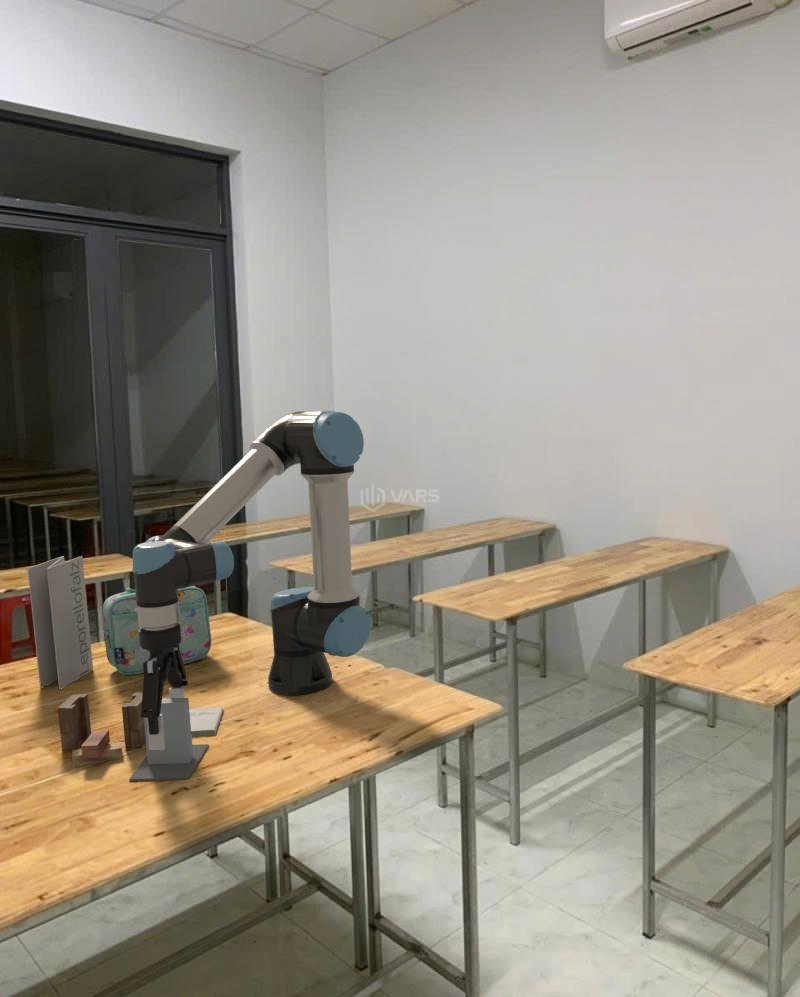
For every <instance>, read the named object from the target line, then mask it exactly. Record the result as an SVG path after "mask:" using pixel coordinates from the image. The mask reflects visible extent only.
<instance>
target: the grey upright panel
mask: <svg viewBox="0 0 800 997" xmlns="http://www.w3.org/2000/svg"><path fill="white" fill-rule="evenodd" d="M189 702H190V701H189V697H184V698H162V704H161V711H160V714H162V715H163V727H164V739H165V749H164V750H149V741H148V729H147V718H144V725H145V736H146V743H145V745H146V746H145V747H146V756H147V759H148V764H175V763H190V762H191V760H192V758H193V750H192V745H193V738H192V737H193V736H191V724H190V712H189V709H190V703H189Z"/></svg>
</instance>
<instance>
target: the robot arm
mask: <svg viewBox="0 0 800 997" xmlns="http://www.w3.org/2000/svg"><path fill="white" fill-rule="evenodd" d="M364 444H365V441H364V435H363V431H362V430H361V427H360V425H359V423H358V422H357V421H356V420H355V419H354V418H353V417H352V416H351V415H350V414H347V413H345V412H341V411H334V410H323V411H304V410H303V411H294V412H292V413H291V412H290V413H288V414H286V415H284V416H283V417H280V418H279V419H278V420H276V421H275V422H273V423H272V424H271V425H270V426H269V427H267V429H265V430H264V431H263V432H262V433H261V434H259V435H258V436H257V438H256V439H254V440H253V442H251V443H250V445H249V451H248V452H247V453H246V455H244V456H243V457H242V459H240V461H238V462H237V463H236V464H235V465H234V466H232V468H231V469H230V471H228V472H227V473H226V474H225V475H224V476H223V477H221V479H220V480H219V481H218V482H217V483H215V485H214V486H213V487H212V488H211V489H210V490H209V491H208V492H207V493H206V494H205V495H203V497H201V499H199V500H198V501H197V503H195V504H194V505H193V506H192V507H191V508H189V510H188V511H187V512H186V513H185V514H184V515H182V517H181V518H180V519H179V520H178V521H177V522H176V523H175V524H174V525H173V526H171V527H170V529H169V530H168V531H166V532H165V533H164V534H163V535H155V536H152V537H150V538H148V539H147V540H146V541H145V542H142V543H138V544H137V545H135V547H133V550H132V573H133V581H134V590H135V592H136V603H137V608H135V613H137V614H138V625H139V626H141V627H140V629H139V641H140V647H141V648H143V649H145V650H148V651H149V652H150V657H149V660H148V661H144V663H143V671H144V673H143V680H142V683H143V684H142V692H141V693H142V708H141V717H142V718H147V729H148V741H149V750H164V749H165V739H164V727H163V715H162V714H160V711H161V704H162V699H163V696H164V687H165V682H166V681H167V682H168V684H169V686H170V687H169V688H168V697H169V698H185V690H184V687H188V685H189V681H188V679H187V674H186V669H185V664H183V661H182V657H181V653H180V649H179V644H180V643H181V628H180V624H179V623H178V622H179V621H180V613H179V601H178V589H182V588H186V587H191V586H195V587H196V586H199V585H203V584H209V583H213V582H214V583H216V582H218V581H222V580H224V579H227V578H229V577H230V576H231V575H232V574H233V571H234V568H235V561H234V560H235V559H234V553H233V551H232V549H231V547H230V545H228V543H226V542H223V541H214V542H213V541H211V540H212V539H213V538H214V537H215V535H217V534H218V533H219V532H220V531H221V530H222V529H223V527H225V526H226V524H228V523H229V521H231V519H232V518H234V516H236V515H237V514H238V512H240V510H242V509H243V507H245V506H246V505H247V503H248V502H250V501H251V499H252V498H254V497H255V495H257V494H258V493H259V492H260V490H261V489H263V487H265V486H266V484H267V483H268V482H270V480H271V479H272V478H274V476H276V477H277V476H281V475H283V474H284V472H286V471H287V470H288V469H289V468H290V467H293V466H295V465H299V466H300V475H301V476H302V477H303V479H305V480H306V481H307V483H308V499H309V501H308V502H309V503H308V504H309V518H310V519H309V520H310V521H309V522H310V539H311V540H310V542H311V557H312V558H311V559H312V576H313V577H312V580H313V586H301V587H296V588H295V587H293V588H288V589H285V590H281V591H278V592H276V593H274V594H273V595H272V596H271V599H270V610H269V611H270V612H271V613H270V614H271V627H272V642H273V658H272V662H271V666H270V668H269V673H268V676H267V679H268V680H267V681H268V682H267V683H268V689H269V690H270V691H271V692H273V693H275V694H277V695H278V694H279V695H283V696H286V695H287V696H302V695H305V696H306V695H310V694H314V693H318V692H321V691H324V690H326V689H327V688H329V687H330V686H331V685H332V684H333V672H332V670H331V667H330V664H329V662H328V659H327V657H326V654H328V656H331V657H341V658H347V657H352V656H354V655H356V654H358V653H359V652H360V651H361V650H362V649H363V648H364V646H365V644H366V643H367V641H368V640H369V637H370V635H371V631H372V618H371V616H370V615H371V614H370V613H369V612H368V611H367V610H366V609H365V608H364V607H362V605H361V601H360V600H361V599H360V591H358V590H357V589H356V588H355V587H353V575H352V574H353V572H352V570H353V569H352V555H351V554H352V553H351V552H352V551H351V550H352V549H351V548H352V547H351V530H350V528H351V526H350V508H349V503H350V502H349V487H348V486H349V485H348V484H349V483H348V481H349V479H350V477H352V476H353V474H354V473H355V464H356V463H357V462H359V460H360V458H361V455H362V454H363V452H364Z"/></svg>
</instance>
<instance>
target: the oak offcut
mask: <svg viewBox="0 0 800 997" xmlns="http://www.w3.org/2000/svg"><path fill="white" fill-rule="evenodd" d="M122 748H123V747H122V742H121V741H117V742H113V743H112V742H111V743H109V744H108V745H107V747H106V748H105V749H104V751H103V752H102V753H101V755H100V756H99V758H83V759H82V749H81V748H79V749H77V750H72V751H71V753H72V754H71V758H72V759H71V760H72V767H79V766H85V765H90V764H95V763H101V762H106V761H112V760H117V759H124V758H123V749H122Z"/></svg>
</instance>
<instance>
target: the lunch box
mask: <svg viewBox="0 0 800 997" xmlns="http://www.w3.org/2000/svg"><path fill="white" fill-rule="evenodd" d="M178 601H179V613H180V621H179V622H178V623H179V624H180V628H181V643H180V644H179V649H180V653H181V657H182V661H183V665H186V664H189V663H193V662H195V661H198V660H201V659H203V658H205V657H206V656H207V655H209V652H210V651H211V648H212V633H211V624H210V616H209V615H210V614H209V607H208V599H207V596H206V593H205V591H204V590H203V589H201V588H199V587H196V586H191V587H186V588H182V589H178ZM135 608H137V603H136V592H135V589H133V588H130V587H126V591H123V592H119V593H115V594H114V595H111V596H109V597H108V598H107V597H106V599H105V601H104V603H103V605H102V611H101V612H102V625H103V634H104V646H105V653H106V654H105V655H106V658H107V661H108V663H109V664H110V665H111V666H112V667H114V668H115V669H116V671H117V672H118V673H119V674H122V675H125V676H126V675H127V676H128V675H141V674H144V671H143V663H144V661H148V660H149V657H150V652H149V651H148V650H145V649H143V648H141V647H140V641H139V629H140V627H141V626H139V625H138V614H137V613H135Z"/></svg>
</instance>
